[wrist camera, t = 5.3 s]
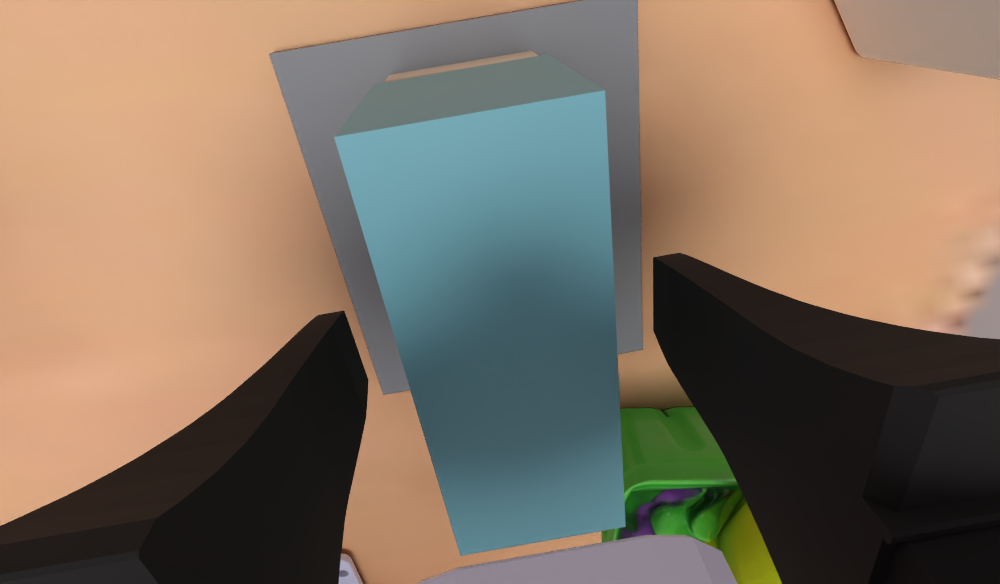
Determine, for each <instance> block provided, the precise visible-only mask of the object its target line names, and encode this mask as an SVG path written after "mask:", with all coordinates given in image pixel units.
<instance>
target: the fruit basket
mask: <svg viewBox="0 0 1000 584" xmlns="http://www.w3.org/2000/svg"><path fill="white" fill-rule="evenodd" d="M620 418H621V440H622V461H623V482H624V503H625V525H626V527H621V528H616V529H610V530H604V531H602V543H603V542H608V541H614V540H620V539H626V538H631V537H637V536H643V535H686V536H689V537H693V538H695V539H697V540H699V541H701V542H703V543H705V544H707V545H709V546H711V547H713V548H716V549H718V550H720V551H722V553H723V555H724V557H725V559H726V561H727V563H728V565H729V568H730V570H731V572H732V574H733V576H734V578H735V580H736V582H737V584H782V582H781V580H780V578H779V575H778V573H777V571H776V568H775V566H774V564H773V561H772V559H771V557H770V554H769V552H768V549H767V547H766V545H765V542H764V540H763V538H762V535H761V533H760V531H759V529H758V527H757V524H756V522H755V520H754V518H753V516H752V513H751V511H750V509H749V507H748V505H747V502H746V500H745V498H744V496H743V494H742V492H741V490H740V487H739V485H738V483H737V481H736V479H735V477H734V475H733V473H732V471H731V469H730V467H729V465H728V463H727V461H726V459H725V456H724V455H723V453H722V451H721V449H720V447H719V446H718V444H717V442H716V440H715V439H714V437H713V435H712V434H711V432H710V431H709V429H708V428H707V426H706V424H705V423H704V421H703V420H702V418H701V416H700V415H699V413H698V412H697V410H696V409H695V407H674V408H671V409H666V410H664V411H663V412H662V411H660V410H657V409H653V408H623V409H620Z"/></svg>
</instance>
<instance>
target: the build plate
mask: <svg viewBox="0 0 1000 584" xmlns="http://www.w3.org/2000/svg"><path fill="white" fill-rule="evenodd" d="M526 51H533V52H534V53H536V54H537V55H538V56H540V55H546V54H549V55H550V56H552V57H553V58H555V59H556V60H558V61H560V62H561V63H563V64H564V65H566V66H568V67H569V68H571V69H572V70H574V71H575V72H577V73H579V74H580V75H582V76H583V77H585V78H587V79H588V80H590V81H591V82H593V83H594V84H596V85H598V86H599V87H601V88H602V89H604V90H605V100H606V122H607V143H608V164H609V185H610V206H611V228H612V249H613V270H614V291H615V312H616V334H617V354H622V353H628V352H633V351H639V350H643V327H642V261H641V196H640V131H639V66H638V0H578V1H572V2H566V3H560V4H554V5H549V6H543V7H537V8H531V9H525V10H519V11H513V12H508V13H502V14H496V15H490V16H484V17H478V18H472V19H466V20H461V21H455V22H449V23H443V24H437V25H431V26H425V27H420V28H414V29H408V30H402V31H396V32H390V33H384V34H378V35H373V36H367V37H361V38H355V39H349V40H343V41H337V42H332V43H326V44H320V45H314V46H308V47H302V48H296V49H290V50H285V51H279V52H274V53H271V54H269V55H270V58H271V61H272V64H273V67H274V70H275V73H276V76H277V79H278V82H279V85H280V88H281V91H282V94H283V97H284V100H285V103H286V106H287V109H288V112H289V115H290V118H291V121H292V124H293V127H294V130H295V133H296V136H297V139H298V142H299V145H300V148H301V151H302V154H303V157H304V160H305V163H306V166H307V169H308V172H309V175H310V178H311V181H312V184H313V187H314V190H315V193H316V195H317V198H318V201H319V204H320V207H321V210H322V213H323V216H324V219H325V222H326V225H327V228H328V231H329V234H330V237H331V240H332V243H333V246H334V249H335V252H336V255H337V258H338V261H339V264H340V267H341V270H342V273H343V276H344V279H345V282H346V285H347V288H348V291H349V294H350V297H351V300H352V303H353V306H354V309H355V312H356V315H357V318H358V321H359V324H360V327H361V330H362V333H363V336H364V339H365V342H366V345H367V348H368V351H369V354H370V357H371V360H372V363H373V366H374V369H375V372H376V375H377V378H378V380H379V383H380V386H381V389H382V392H383V395H385V394H390V393H396V392H402V391H408V390H410V387H409V383H408V380H407V377H406V374H405V370H404V367H403V364H402V360H401V357H400V354H399V350H398V347H397V344H396V340H395V337H394V334H393V331H392V327H391V324H390V321H389V317H388V314H387V311H386V307H385V304H384V301H383V297H382V294H381V291H380V288H379V284H378V281H377V278H376V274H375V271H374V268H373V264H372V261H371V258H370V254H369V251H368V248H367V245H366V241H365V238H364V235H363V231H362V228H361V225H360V221H359V218H358V215H357V211H356V208H355V205H354V201H353V198H352V195H351V192H350V188H349V185H348V182H347V178H346V175H345V172H344V168H343V165H342V162H341V158H340V155H339V152H338V149H337V145H336V142H335V139H334V136H335V135H336V134H337V132H338V131H339V130H340V128H341V127H342V126H343V125H344V123H345V122H346V121H347V119H348V118H349V117H350V115H351V114H352V113H353V111H354V110H355V109H356V107H357V106H358V105H359V103H360V102H361V101H362V99H363V98H364V97H365V96H366V94H367V93H368V92H369V90H370V89H371V88H372V86H373V85H374V84H378V83H384V82H385V80H386V79H387V77H388V76H389V75H391V74H397V73H403V72H408V71H414V70H420V69H426V68H432V67H438V66H444V65H449V64H455V63H461V62H467V61H473V60H479V59H485V58H490V57H496V56H502V55H508V54H514V53H520V52H526Z"/></svg>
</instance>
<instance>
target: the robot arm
mask: <svg viewBox="0 0 1000 584" xmlns="http://www.w3.org/2000/svg"><path fill="white" fill-rule="evenodd" d="M653 328H654V333H655V335H656V338H657V340H658V343H659V345H660V347H661V350H662V352H663V354H664V356H665V359H666V361H667V363H668V365H669V367H670V368H671V370H672V372H673V373H674V375H675V377H676V378H677V380H678V381H679V383H680V385H681V386H682V388H683V390H684V391H685V393H686V394H687V396H688V397H689V399H690V401H691V402H692V404H693V405H694V407H695V409H696V410H697V412H698V413H699V415H700V416H701V418H702V420H703V421H704V423H705V424H706V426H707V428H708V429H709V431H710V432H711V434H712V435H713V437H714V439H715V440H716V442H717V444H718V446H719V447H720V449H721V451H722V453H723V455H724V456H725V459H726V461H727V463H728V465H729V467H730V469H731V471H732V473H733V475H734V477H735V479H736V481H737V483H738V485H739V487H740V490H741V492H742V494H743V496H744V498H745V500H746V502H747V505H748V507H749V509H750V511H751V513H752V516H753V518H754V520H755V522H756V524H757V527H758V529H759V531H760V533H761V535H762V538H763V540H764V542H765V545H766V547H767V549H768V552H769V554H770V557H771V559H772V561H773V564H774V566H775V568H776V571H777V573H778V575H779V578H780V580H781V582H782V584H1000V339H988V338H977V337H969V336H961V335H954V334H947V333H940V332H932V331H926V330H920V329H914V328H908V327H902V326H897V325H892V324H887V323H882V322H877V321H873V320H868V319H863V318H859V317H855V316H851V315H846V314H843V313H839V312H836V311H832V310H828V309H825V308H821V307H818V306H814V305H811V304H808V303H805V302H802V301H798V300H795V299H793V298H790V297H787V296H784V295H782V294H779V293H776V292H773V291H771V290H768V289H765V288H763V287H760V286H758V285H755V284H753V283H751V282H748V281H746V280H743V279H741V278H739V277H736V276H734V275H732V274H729V273H727V272H725V271H723V270H720V269H718V268H716V267H714V266H711V265H709V264H707V263H704V262H702V261H700V260H697V259H695V258H693V257H690V256H687V255H685V254H681V253H676V254H670V255H665V256H659V257H653ZM367 395H368V378H367V375H366V372H365V369H364V366H363V363H362V361H361V358H360V355H359V352H358V349H357V346H356V343H355V340H354V338H353V335H352V332H351V329H350V326H349V323H348V320H347V317H346V314H345V312H344V311H340V312H334V313H328V314H322V315H318V316H316V317H315V318H314V319H313V320H311V321H310V322H309V323H308V324H307V325H306V326H305V327H304V328H302V329H301V330H300V331H299V332H298V333H297V334H296V335H295V336H294V337H293V338H292V339H291V340H290V341H289V342H288V343H287V344H286V345H285V346H284V347H283V348H281V349H280V350H279V351H278V352H277V353H276V354H275V355H274V356H273V357H272V358H271V359H270V360H269V361H268V362H267V363H266V364H264V365H263V366H262V367H261V368H260V369H259V370H258V371H257V372H255V373H254V374H253V375H252V376H251V377H250V378H248V379H247V380H246V381H245V382H244V383H243V384H242V385H240V386H239V387H238V388H237V389H236V390H235V391H233V392H232V393H231V394H230V395H229V396H227V397H226V398H225V399H224V400H222V401H221V402H220V403H218V404H217V405H216V406H215V407H213V408H212V409H211V410H209V411H208V412H206V413H205V414H204V415H202V416H201V417H200V418H198V419H197V420H195V421H194V422H193V423H191V424H190V425H188V426H187V427H185V428H184V429H182V430H181V431H179V432H178V433H176V434H175V435H173V436H171V437H170V438H168V439H167V440H165V441H163V442H162V443H160V444H159V445H157V446H156V447H154V448H152V449H151V450H149V451H148V452H146V453H144V454H143V455H141V456H140V457H138V458H136V459H134V460H133V461H131V462H129V463H127V464H126V465H124V466H122V467H120V468H118V469H117V470H115V471H113V472H111V473H109V474H108V475H106V476H104V477H102V478H100V479H98V480H96V481H94V482H92V483H90V484H89V485H87V486H85V487H83V488H81V489H79V490H77V491H75V492H73V493H71V494H69V495H67V496H65V497H63V498H60V499H58V500H56V501H54V502H52V503H50V504H48V505H45V506H43V507H41V508H39V509H37V510H35V511H32V512H30V513H28V514H26V515H24V516H22V517H19V518H17V519H15V520H13V521H11V522H8V523H6V524H4V525H2V526H0V584H363V582H362V580H361V578H360V576H359V574H358V572H357V569H356V567H355V565H354V563H353V561H352V559H351V558H350V556H348V555H346V554H343V553H341V550H342V541H343V531H344V522H345V515H346V510H347V504H348V499H349V494H350V489H351V485H352V480H353V476H354V471H355V467H356V462H357V457H358V453H359V448H360V444H361V439H362V434H363V429H364V424H365V419H366V410H367ZM417 584H737V582H736V580H735V578H734V576H733V574H732V572H731V570H730V568H729V565H728V563H727V561H726V559H725V557H724V555H723V553H722V551H720V550H718V549H716V548H713V547H711V546H709V545H707V544H705V543H703V542H701V541H699V540H697V539H695V538H693V537H689V536H686V535H643V536H637V537H631V538H626V539H620V540H614V541H608V542H603V543H597V544H591V545H585V546H580V547H574V548H568V549H562V550H557V551H551V552H545V553H540V554H534V555H528V556H522V557H517V558H511V559H505V560H499V561H494V562H488V563H482V564H476V565H471V566H465V567H459V568H456V569H453V570H450V571H447V572H444V573H441V574H439V575H436V576H433V577H430V578H427V579H424V580H422V581H420V582H419V583H417Z"/></svg>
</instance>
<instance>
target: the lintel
mask: <svg viewBox="0 0 1000 584" xmlns="http://www.w3.org/2000/svg"><path fill="white" fill-rule="evenodd" d="M334 139H335V142H336V145H337V149H338V152H339V155H340V158H341V162H342V165H343V168H344V172H345V175H346V178H347V182H348V185H349V188H350V192H351V195H352V198H353V201H354V205H355V208H356V211H357V215H358V218H359V221H360V225H361V228H362V231H363V235H364V238H365V241H366V245H367V248H368V251H369V254H370V258H371V261H372V264H373V268H374V271H375V274H376V278H377V281H378V284H379V288H380V291H381V294H382V297H383V301H384V304H385V307H386V311H387V314H388V317H389V321H390V324H391V327H392V331H393V334H394V337H395V340H396V344H397V347H398V350H399V354H400V357H401V360H402V364H403V367H404V370H405V374H406V377H407V380H408V383H409V387H410V390H411V393H412V397H413V400H414V403H415V407H416V410H417V413H418V417H419V420H420V423H421V427H422V430H423V433H424V436H425V440H426V443H427V446H428V450H429V453H430V456H431V460H432V463H433V466H434V470H435V473H436V476H437V479H438V483H439V486H440V489H441V493H442V496H443V499H444V503H445V506H446V509H447V513H448V516H449V519H450V522H451V526H452V529H453V532H454V536H455V539H456V542H457V546H458V549H459V552H460V556H462V555H467V554H473V553H479V552H485V551H490V550H496V549H502V548H507V547H513V546H519V545H524V544H530V543H536V542H542V541H547V540H553V539H559V538H564V537H570V536H576V535H582V534H587V533H593V532H599V531H604V530H610V529H616V528H621V527H626V525H625V503H624V482H623V461H622V440H621V418H620V397H619V376H618V355H617V334H616V312H615V291H614V270H613V249H612V228H611V206H610V185H609V164H608V143H607V122H606V100H605V90H604V89H602V88H601V87H599V86H598V85H596V84H594V83H593V82H591V81H590V80H588V79H587V78H585V77H583V76H582V75H580V74H579V73H577V72H575V71H574V70H572V69H571V68H569V67H568V66H566V65H564V64H563V63H561V62H560V61H558V60H556V59H555V58H553V57H552V56H550V55H549V54H546V55H540V56H535V57H529V58H523V59H517V60H511V61H506V62H500V63H494V64H488V65H482V66H477V67H471V68H465V69H459V70H453V71H448V72H442V73H436V74H430V75H424V76H419V77H413V78H407V79H401V80H396V81H390V82H384V83H378V84H374V85H373V86H372V88H371V89H370V90H369V92H368V93H367V94H366V96H365V97H364V98H363V99H362V101H361V102H360V103H359V105H358V106H357V107H356V109H355V110H354V111H353V113H352V114H351V115H350V117H349V118H348V119H347V121H346V122H345V123H344V125H343V126H342V127H341V128H340V130H339V131H338V132H337V134H336V135H335V136H334Z"/></svg>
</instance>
